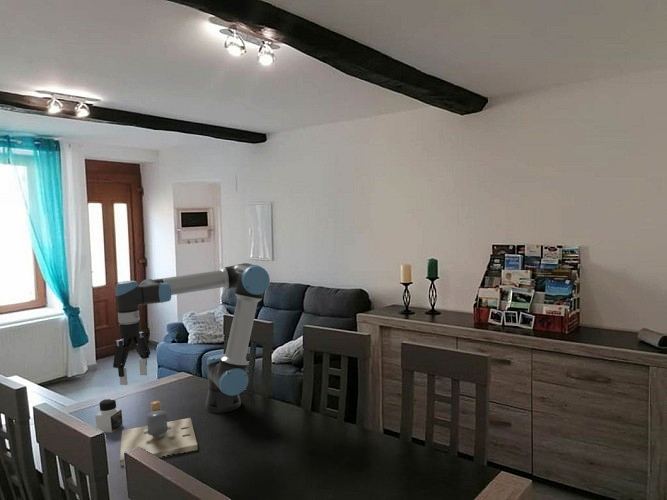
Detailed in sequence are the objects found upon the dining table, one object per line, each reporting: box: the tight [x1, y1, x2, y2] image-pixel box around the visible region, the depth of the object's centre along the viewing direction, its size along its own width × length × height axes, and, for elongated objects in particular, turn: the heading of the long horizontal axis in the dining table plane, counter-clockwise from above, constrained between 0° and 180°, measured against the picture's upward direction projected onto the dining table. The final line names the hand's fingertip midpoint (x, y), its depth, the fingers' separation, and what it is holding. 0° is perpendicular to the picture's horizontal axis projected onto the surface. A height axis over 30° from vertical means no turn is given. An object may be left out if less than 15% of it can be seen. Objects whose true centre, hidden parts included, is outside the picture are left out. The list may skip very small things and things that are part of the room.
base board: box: [119, 417, 198, 467], centre depth 190 cm, size 26×26×4 cm
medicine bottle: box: [95, 398, 124, 434], centre depth 204 cm, size 7×7×12 cm
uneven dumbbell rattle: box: [144, 400, 171, 435], centre depth 194 cm, size 10×16×7 cm, turn 21°
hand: (134, 379), depth 191 cm, fingers open, 10 cm apart
